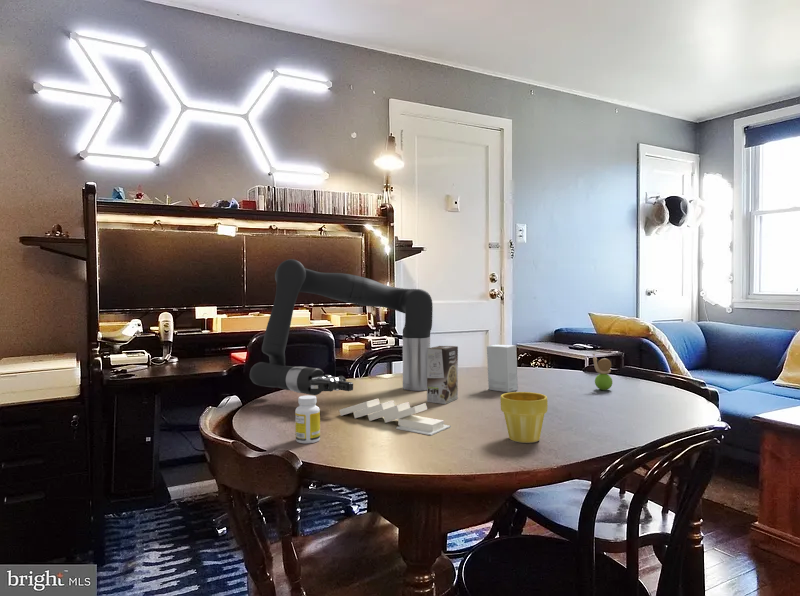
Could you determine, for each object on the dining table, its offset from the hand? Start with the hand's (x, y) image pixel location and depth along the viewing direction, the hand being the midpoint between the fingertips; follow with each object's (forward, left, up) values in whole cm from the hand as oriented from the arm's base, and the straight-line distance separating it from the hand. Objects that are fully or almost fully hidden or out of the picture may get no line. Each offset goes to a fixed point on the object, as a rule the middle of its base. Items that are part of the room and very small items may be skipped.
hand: (351, 386), depth 144 cm
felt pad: (-6, +22, -8) cm, 24 cm away
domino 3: (-2, +8, -7) cm, 10 cm away
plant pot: (-17, +44, -8) cm, 48 cm away
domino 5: (-5, +17, -6) cm, 18 cm away
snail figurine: (-82, +25, -8) cm, 86 cm away
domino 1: (0, -2, -7) cm, 7 cm away
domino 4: (-3, +13, -6) cm, 14 cm away
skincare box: (-57, +4, -8) cm, 58 cm away
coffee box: (-31, +3, -8) cm, 32 cm away
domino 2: (-1, +3, -7) cm, 7 cm away
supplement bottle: (+21, +14, -8) cm, 26 cm away
